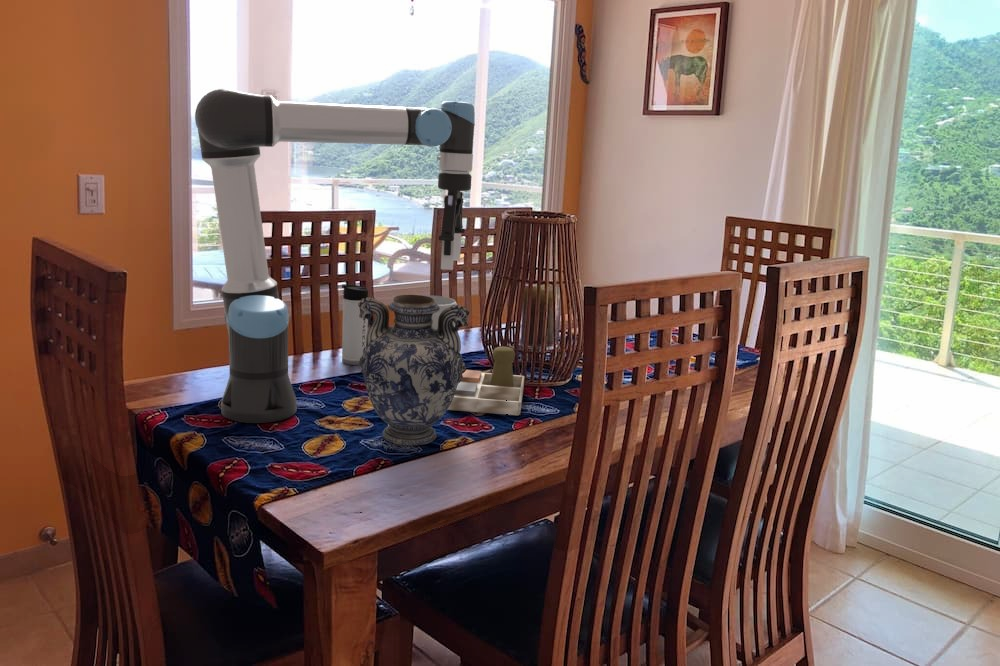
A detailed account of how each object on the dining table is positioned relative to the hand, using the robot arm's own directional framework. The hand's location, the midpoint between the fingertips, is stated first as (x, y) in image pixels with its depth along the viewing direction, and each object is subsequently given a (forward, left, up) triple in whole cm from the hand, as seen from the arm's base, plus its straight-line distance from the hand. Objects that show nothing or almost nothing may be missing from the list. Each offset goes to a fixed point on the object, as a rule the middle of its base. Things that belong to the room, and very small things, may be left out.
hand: (450, 264), depth 193 cm
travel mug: (-25, +11, -29) cm, 40 cm away
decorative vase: (-2, -37, -29) cm, 47 cm away
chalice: (-7, +24, -29) cm, 38 cm away
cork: (+14, -4, -29) cm, 32 cm away
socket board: (+11, -9, -29) cm, 32 cm away
